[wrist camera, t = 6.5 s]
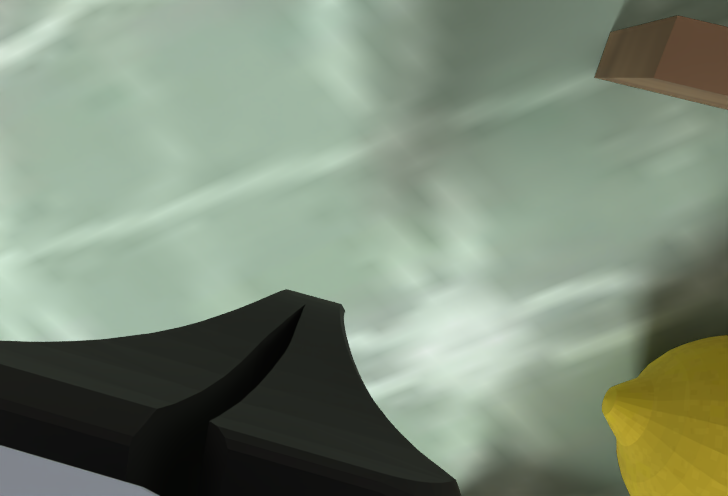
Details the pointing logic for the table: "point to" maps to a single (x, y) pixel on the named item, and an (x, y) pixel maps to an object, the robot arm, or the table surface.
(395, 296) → the table surface
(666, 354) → the lemon
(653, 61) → the frame
